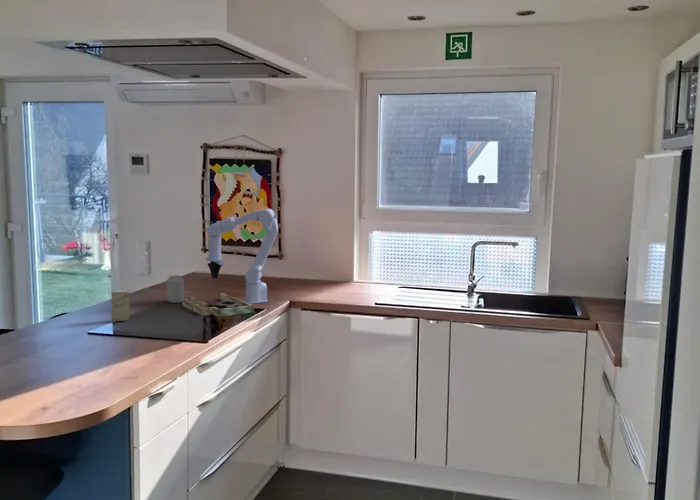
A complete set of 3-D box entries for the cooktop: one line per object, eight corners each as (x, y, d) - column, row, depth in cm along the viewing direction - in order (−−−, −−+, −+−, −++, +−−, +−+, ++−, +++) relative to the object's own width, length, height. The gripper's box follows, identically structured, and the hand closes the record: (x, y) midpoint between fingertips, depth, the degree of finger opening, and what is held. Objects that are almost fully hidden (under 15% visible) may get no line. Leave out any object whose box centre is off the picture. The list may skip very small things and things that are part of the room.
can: (179, 304, 285) (179, 277, 283) (164, 302, 286) (163, 276, 285) (186, 300, 292) (186, 275, 290) (171, 299, 293) (171, 274, 292)
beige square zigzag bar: (222, 299, 298) (222, 292, 297) (254, 312, 273) (254, 305, 273) (178, 303, 285) (178, 297, 284) (207, 318, 260) (207, 311, 260)
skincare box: (112, 322, 248) (112, 292, 247) (111, 320, 252) (110, 290, 251) (129, 321, 251) (129, 291, 250) (127, 318, 255) (127, 289, 254)
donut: (209, 313, 270) (209, 303, 270) (224, 307, 281) (224, 298, 281) (233, 316, 266) (233, 306, 266) (247, 310, 277) (247, 301, 277)
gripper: (200, 247, 295) (200, 276, 297) (213, 251, 284) (213, 281, 286) (214, 247, 300) (214, 275, 301) (227, 250, 288) (227, 280, 290)
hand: (214, 278), depth 294 cm, fingers closed
